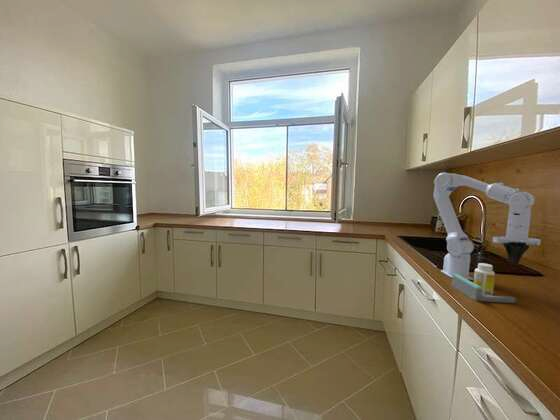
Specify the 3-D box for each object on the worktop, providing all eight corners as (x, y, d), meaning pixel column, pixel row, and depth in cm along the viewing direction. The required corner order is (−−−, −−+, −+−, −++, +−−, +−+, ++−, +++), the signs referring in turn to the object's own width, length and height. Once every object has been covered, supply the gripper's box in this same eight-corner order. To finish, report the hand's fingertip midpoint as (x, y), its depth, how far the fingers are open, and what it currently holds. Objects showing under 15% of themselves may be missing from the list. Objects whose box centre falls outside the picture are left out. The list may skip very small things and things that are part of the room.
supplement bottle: (493, 293, 90) (496, 264, 89) (492, 297, 86) (495, 268, 85) (473, 288, 94) (476, 261, 93) (471, 292, 90) (474, 264, 89)
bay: (451, 285, 96) (452, 273, 96) (485, 287, 95) (486, 275, 95) (475, 300, 83) (476, 287, 83) (515, 303, 82) (516, 289, 82)
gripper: (505, 226, 87) (501, 265, 88) (551, 228, 86) (545, 267, 87) (489, 223, 94) (486, 259, 95) (531, 225, 93) (527, 261, 94)
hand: (513, 263), depth 91 cm, fingers closed
